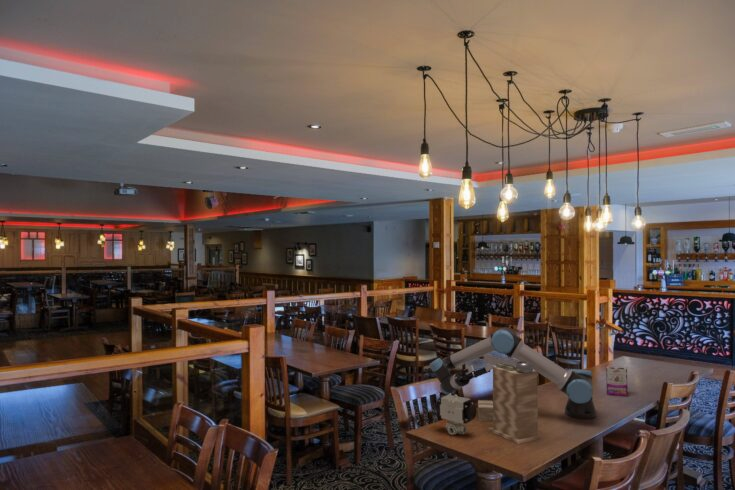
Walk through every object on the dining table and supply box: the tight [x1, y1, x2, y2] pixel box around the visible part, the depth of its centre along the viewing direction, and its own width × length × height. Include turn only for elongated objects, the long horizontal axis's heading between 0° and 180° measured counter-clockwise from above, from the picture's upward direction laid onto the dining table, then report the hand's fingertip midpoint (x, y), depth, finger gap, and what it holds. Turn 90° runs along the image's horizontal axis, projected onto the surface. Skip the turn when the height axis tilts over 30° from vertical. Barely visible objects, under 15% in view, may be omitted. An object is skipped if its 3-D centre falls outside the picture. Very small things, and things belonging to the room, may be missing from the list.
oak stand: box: [488, 363, 544, 445], centre depth 233 cm, size 19×15×32 cm
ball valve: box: [435, 393, 478, 436], centre depth 234 cm, size 18×8×18 cm, turn 50°
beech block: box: [477, 399, 493, 423], centre depth 258 cm, size 14×10×6 cm
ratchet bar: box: [484, 353, 533, 374], centre depth 237 cm, size 28×7×4 cm, turn 28°
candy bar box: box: [605, 365, 629, 397], centre depth 297 cm, size 11×5×16 cm, turn 68°
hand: (483, 366), depth 252 cm, fingers open, 13 cm apart
